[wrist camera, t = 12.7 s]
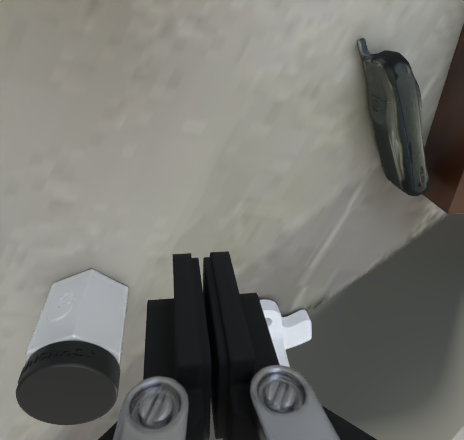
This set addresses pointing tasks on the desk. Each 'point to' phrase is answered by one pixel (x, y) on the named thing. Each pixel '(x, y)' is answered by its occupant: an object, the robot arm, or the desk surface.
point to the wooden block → (448, 141)
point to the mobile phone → (396, 119)
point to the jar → (75, 351)
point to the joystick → (286, 329)
